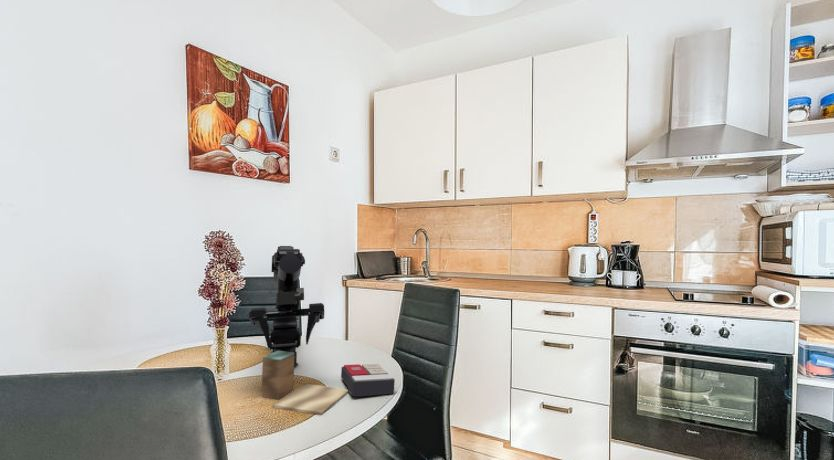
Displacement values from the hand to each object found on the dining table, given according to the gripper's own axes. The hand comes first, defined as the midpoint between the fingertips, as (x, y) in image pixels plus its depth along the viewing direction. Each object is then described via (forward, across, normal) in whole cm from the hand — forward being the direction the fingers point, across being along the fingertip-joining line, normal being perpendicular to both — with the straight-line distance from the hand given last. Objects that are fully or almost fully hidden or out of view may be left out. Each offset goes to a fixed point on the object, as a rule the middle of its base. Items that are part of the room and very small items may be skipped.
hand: (288, 346), depth 98 cm
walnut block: (+10, -3, +6) cm, 12 cm away
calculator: (+11, +20, +7) cm, 24 cm away
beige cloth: (+13, +6, +2) cm, 15 cm away
